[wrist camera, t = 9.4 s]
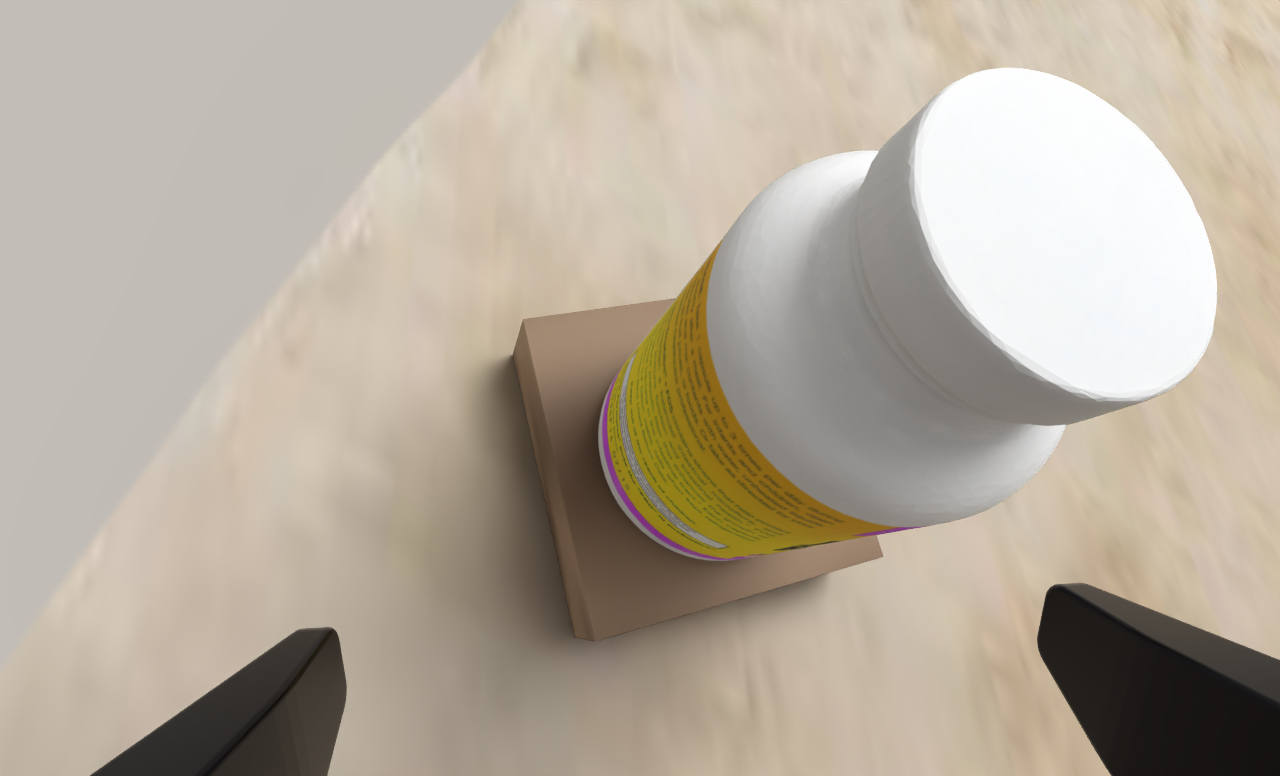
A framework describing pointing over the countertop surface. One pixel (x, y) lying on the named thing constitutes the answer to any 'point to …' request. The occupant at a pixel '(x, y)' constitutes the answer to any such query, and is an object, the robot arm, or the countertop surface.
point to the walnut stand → (587, 510)
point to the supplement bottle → (912, 326)
